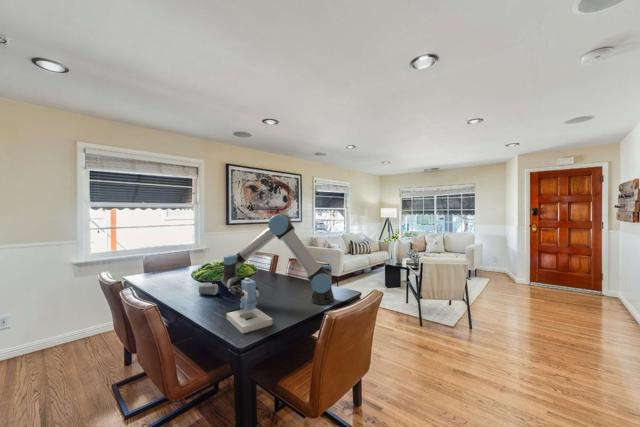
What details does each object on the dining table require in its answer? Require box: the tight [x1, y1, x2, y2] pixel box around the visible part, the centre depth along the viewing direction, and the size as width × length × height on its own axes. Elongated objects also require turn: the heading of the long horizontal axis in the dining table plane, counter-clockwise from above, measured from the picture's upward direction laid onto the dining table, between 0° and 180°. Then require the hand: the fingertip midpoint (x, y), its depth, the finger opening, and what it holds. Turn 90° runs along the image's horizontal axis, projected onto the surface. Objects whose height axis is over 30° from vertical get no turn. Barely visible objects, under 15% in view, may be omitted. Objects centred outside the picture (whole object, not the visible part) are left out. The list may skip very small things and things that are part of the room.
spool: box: [198, 282, 219, 296], centre depth 187 cm, size 14×10×10 cm
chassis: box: [226, 307, 274, 334], centre depth 142 cm, size 22×16×3 cm
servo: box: [239, 277, 258, 311], centre depth 141 cm, size 11×6×15 cm, turn 38°
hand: (252, 295), depth 138 cm, fingers closed on servo, 5 cm apart
